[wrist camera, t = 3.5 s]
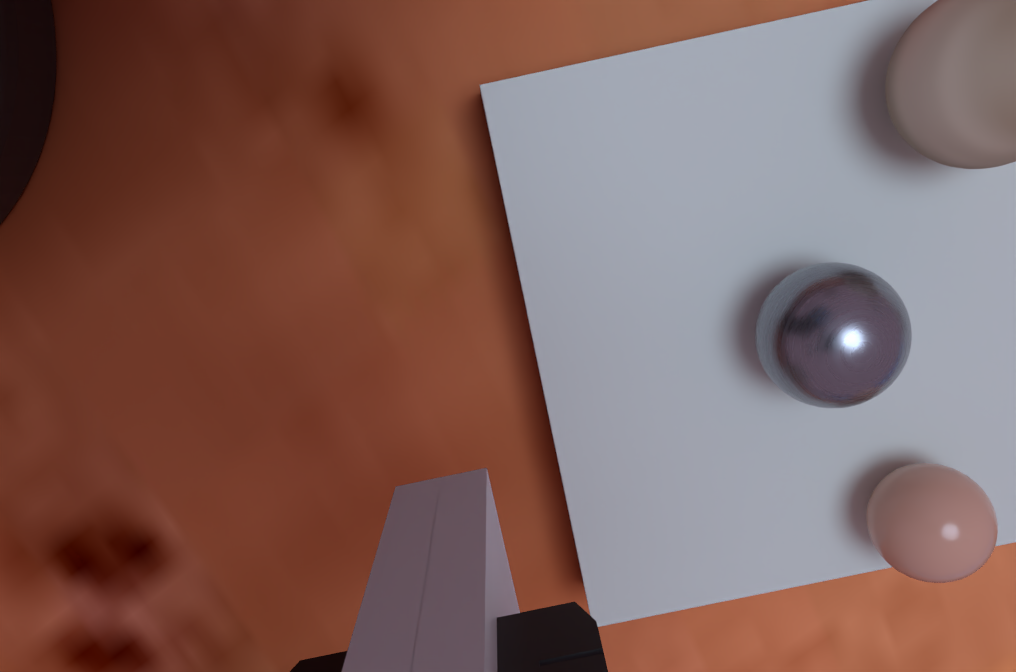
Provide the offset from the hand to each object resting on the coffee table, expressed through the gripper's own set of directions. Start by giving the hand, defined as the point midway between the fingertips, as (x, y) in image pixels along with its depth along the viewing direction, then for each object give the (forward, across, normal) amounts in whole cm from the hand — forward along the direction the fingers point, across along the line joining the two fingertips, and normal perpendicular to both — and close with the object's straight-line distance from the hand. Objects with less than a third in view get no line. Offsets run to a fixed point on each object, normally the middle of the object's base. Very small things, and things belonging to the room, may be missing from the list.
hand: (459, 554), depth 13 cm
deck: (+11, +15, 0) cm, 19 cm away
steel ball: (+7, +9, 0) cm, 11 cm away
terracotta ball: (+7, +11, -5) cm, 14 cm away
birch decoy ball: (+7, +13, +6) cm, 16 cm away
